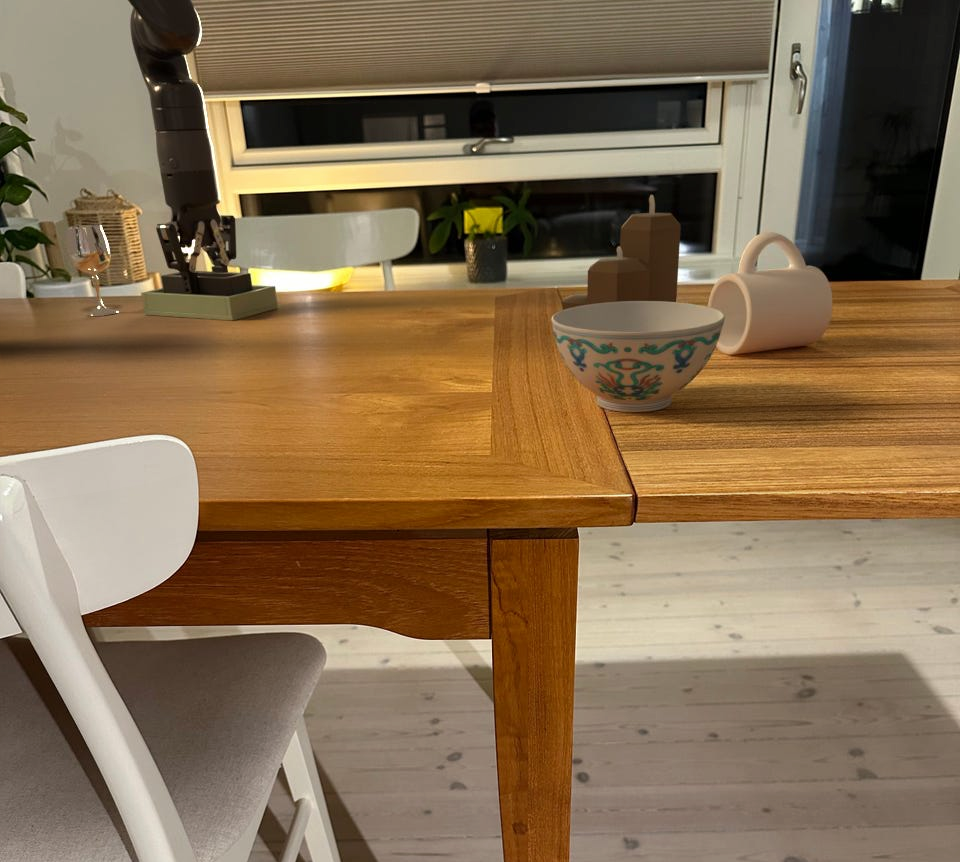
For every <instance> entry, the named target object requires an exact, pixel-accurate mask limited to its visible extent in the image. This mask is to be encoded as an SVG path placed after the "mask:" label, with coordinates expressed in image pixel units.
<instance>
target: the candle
mask: <svg viewBox="0 0 960 862" xmlns="http://www.w3.org/2000/svg"><path fill="white" fill-rule="evenodd" d="M648 202H649V210H648V211H649V212H644V213H632V214H631V215H630V216H629V218H627V220H626V221H625V222H624V223H623V224H622V226H621V228H620V235H619V237H620V238H619V239H620V241H619V246H617V247H616V257H605V258H600V259H598V260H596V261H595V262H594V263H593V264H592V265H590V266H589V268H588V270H587V292H583V293H573V294H570V295H567V296H565V297H564V299H563V300H562V306H561V307H562V310H565V309H569V308H573V307H578V306H583V305H590V304H598V303H609V302H625V301H663V302H677V294H678V279H679V278H678V277H679V261H680V247H681V246H680V245H681V243H680V242H681V231H682V229H681V228H682V226H681V223H680V222H679V221H678V220H677V219H676V217H675V216H674V215H673V214H672V213H671V212H656V211H655V210H656V202H655V197H654V195H653V194H650V195H649V198H648ZM562 310H561V311H562Z"/></svg>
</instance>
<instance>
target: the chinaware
mask: <svg viewBox="0 0 960 862" xmlns="http://www.w3.org/2000/svg"><path fill="white" fill-rule="evenodd" d="M724 319H725V315H724V314H723V313H722V312H721V311H719V310H717V309H714V308H711V307H708V305H701V304H696V303H687V302H679V301H676V302H663V301H625V302H609V303H598V304H590V305H583V306H578V307H573V308H569V309H565V310H560V311H558V312H555V313H554V314H553V315H552V316H551V326H552V331H553V337H554V339H555V343H556V345H557V349H558V351H559V355H560V356H561V358H562V361H563V362H564V364H565V366H566V367H567V369H568V371H569V372H570V373H571V375H572V376H573V377H574V378H575V379H576V381H578V382H579V383H580V384H581V385H582V387H585V388H586V389H587V391H590V392H591V393H593V394H594V395H596V404H597V405H598V406H599V407H600V408H602V409H605V410H608V411H613V412H619V413H645V412H646V413H647V412H656V411H659V410H663V409H665V408H668V407H669V406H670V405H671V404H672V396H673V395H675V394H676V393H678V392H680V391H681V390H682V389H684V388H685V387H687V386H688V385H689V384H690V383H691V382H692V381H693V380H694V379H695V378H696V377H697V376H698V375H700V373H701V372H702V370H703V369H704V368H705V366H706V365H707V364H708V362H709V360H710V359H711V357H712V355H713V353H714V351H715V349H716V348H717V347H716V345H717V342H718V340H719V337H720V334H721V331H722V327H723V324H724Z"/></svg>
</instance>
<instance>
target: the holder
mask: <svg viewBox="0 0 960 862" xmlns="http://www.w3.org/2000/svg"><path fill="white" fill-rule="evenodd" d="M252 288H253V291H249V292H245V293H241V294H237V295H232V296H213V295H193V294H174V293H164V290H163V287H162V288H157V289H156V288H155V289H152V290H147V291H142V292H140V295H141V300H142V305H143V310H144V315H145V316H155V317H156V316H158V317H171V318H189V319H202V320H203V319H204V320H219V321H233V322H234V321H236V320H241V319H243V318H248V317H250V316H251V317H252V316H254V315H259V314H261V313H262V314H263V313H266V312H269V311H274V310H276V309H279V305H278V297H277V288H276V286H275V285H258V284H252Z"/></svg>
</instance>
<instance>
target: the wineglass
mask: <svg viewBox="0 0 960 862" xmlns="http://www.w3.org/2000/svg"><path fill="white" fill-rule="evenodd" d="M66 249H67V254H68V258H69V260H70V263H71V264H72V265H73V266H74V268H76V269H77V270H79V271H81V272H83V273H86V274H90V275H91V276H92V277H91V282H92V285H93V287H94V290H95V292H96V297H97V303H98V305H97V308H95V309H94V310H92V311H89V312H87V313H86V315H87V316H89V317H103V316H111V315H115V314H118V313H119V310H117V309H111V308H108V307H106V306H105V305H104V304H103V301H102V297H101V291H100V278H99V277H98V276H97V274H99V273H101V272H103V271H104V270H106V269H107V268H108V267H109V265H110V264H111V261H112V260H111V258H112V255H111V254H112V253H111V248H110V245H109V241H108V239H107V237H106V234H105V232H104V230H103V227H102V225H101V224H83V225H81V224H80V225H72V226H67V227H66Z"/></svg>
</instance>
